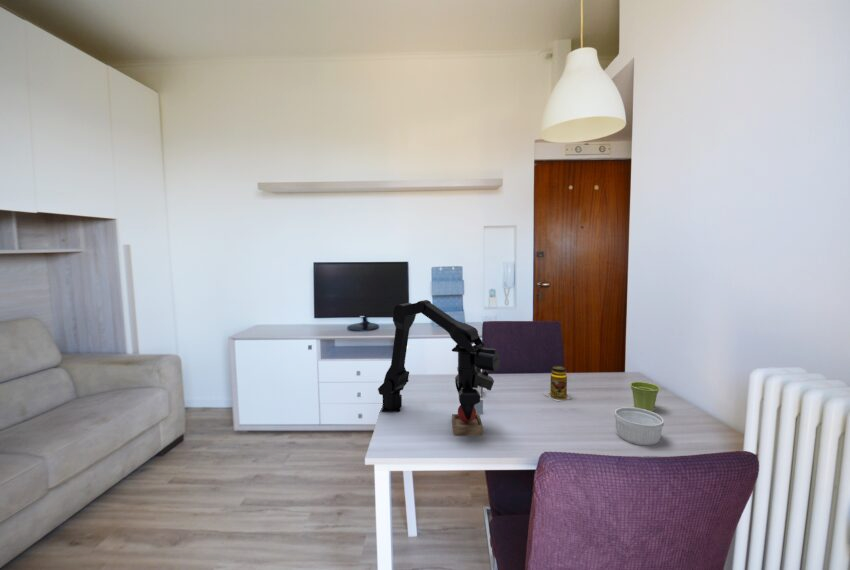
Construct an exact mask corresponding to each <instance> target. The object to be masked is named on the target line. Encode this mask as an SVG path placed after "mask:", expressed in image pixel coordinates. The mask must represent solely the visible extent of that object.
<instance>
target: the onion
mask: <svg viewBox="0 0 850 570" xmlns="http://www.w3.org/2000/svg"><path fill="white" fill-rule="evenodd" d="M457 414H458V417H459V418H460V419H461V420H462V421H463V422H465V423H467V424H468V423H469V422H471V421H472V420H473V419H474V418H475V416H476V410H475V408H474V407H473V411H472V414H471V418H470V420H467V419H466V417H465V414H464V412H463V409H462V407H461V404H459V407H458V408H457Z"/></svg>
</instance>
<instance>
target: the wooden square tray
mask: <svg viewBox="0 0 850 570" xmlns="http://www.w3.org/2000/svg"><path fill="white" fill-rule="evenodd" d="M451 423H452V432H453V437H464V436H465V437H480V436H481V437H483V436H484V434H483V431H484V430H483V427H484V426H483V423H482V420H481V417H480V414H476V416H475V418H474V419H473V420H472V421H471V422H469V423H468V424H467V423H465V422H463V421H462V420H461V419H460V418H459V417H458V413H452V414H451Z"/></svg>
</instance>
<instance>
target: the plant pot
mask: <svg viewBox="0 0 850 570" xmlns="http://www.w3.org/2000/svg"><path fill="white" fill-rule="evenodd" d="M629 386H630V388H631V390H632V391H631V392H632V400H633V407H634V408H640V409H645V410H648V411H651V412H654V411H655V405H656V401H657V397H658V394H659V391H660V390H661V387H660V386H658V385H656V384H653V383H649V382H645V381H632V382H630V383H629Z"/></svg>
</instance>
